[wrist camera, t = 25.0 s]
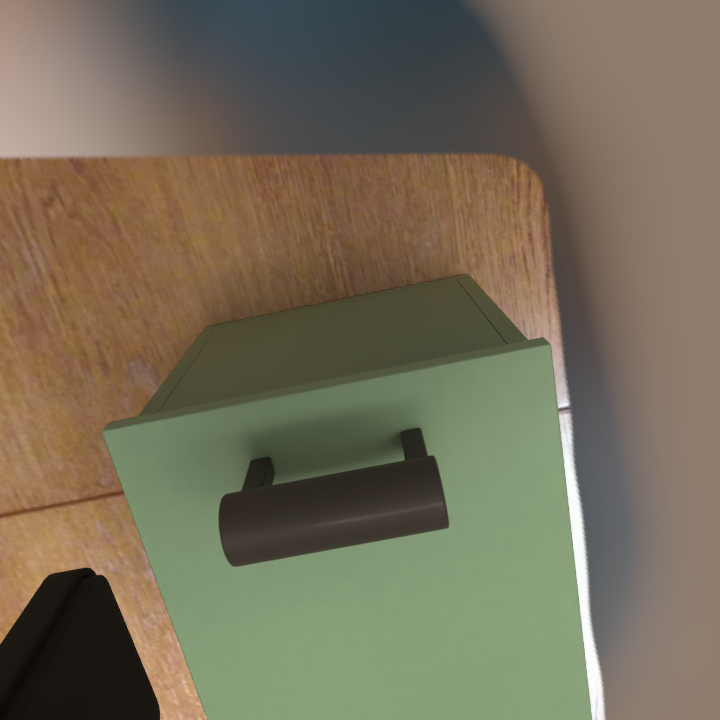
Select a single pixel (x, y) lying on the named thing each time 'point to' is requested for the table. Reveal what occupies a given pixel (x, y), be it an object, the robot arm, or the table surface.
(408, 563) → the lid
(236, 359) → the chest
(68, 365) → the table surface
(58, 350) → the table surface
